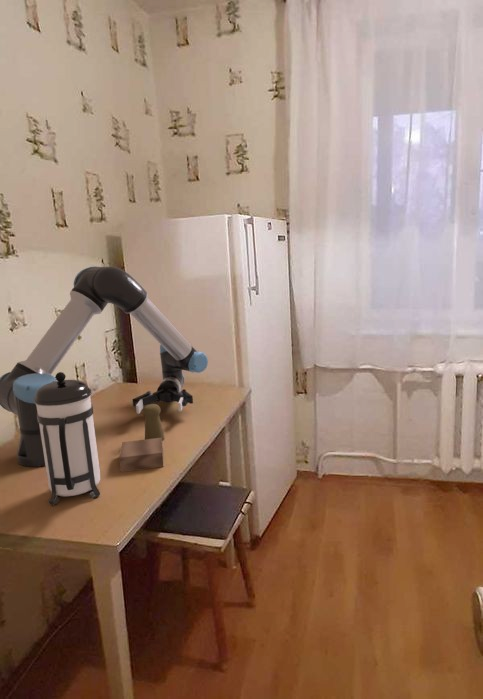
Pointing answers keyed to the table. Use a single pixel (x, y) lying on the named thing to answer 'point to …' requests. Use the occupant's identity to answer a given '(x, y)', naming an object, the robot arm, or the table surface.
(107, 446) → the table surface
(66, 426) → the coffee press
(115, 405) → the table surface
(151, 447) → the walnut base
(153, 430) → the olive pawn
